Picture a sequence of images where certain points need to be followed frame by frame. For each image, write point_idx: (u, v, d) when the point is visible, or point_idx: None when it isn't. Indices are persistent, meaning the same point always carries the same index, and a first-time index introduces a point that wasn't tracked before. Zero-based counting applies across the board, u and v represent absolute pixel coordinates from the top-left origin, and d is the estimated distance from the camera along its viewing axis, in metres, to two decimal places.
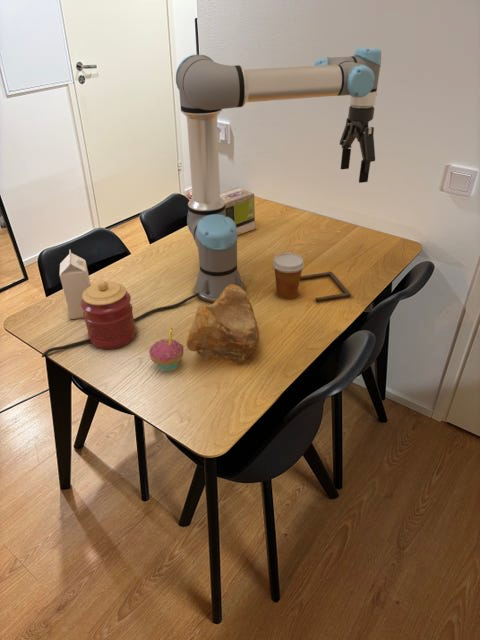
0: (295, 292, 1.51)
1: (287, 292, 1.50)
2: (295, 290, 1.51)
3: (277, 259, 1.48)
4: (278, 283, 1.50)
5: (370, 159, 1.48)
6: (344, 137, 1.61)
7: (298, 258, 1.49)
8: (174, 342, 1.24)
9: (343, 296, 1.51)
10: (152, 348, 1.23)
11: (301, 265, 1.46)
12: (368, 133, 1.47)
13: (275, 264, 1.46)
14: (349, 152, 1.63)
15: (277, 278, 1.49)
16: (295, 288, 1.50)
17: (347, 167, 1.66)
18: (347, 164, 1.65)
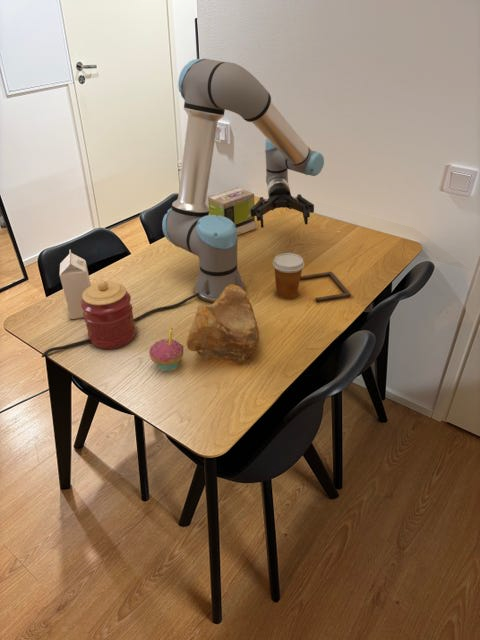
0: (295, 292, 1.51)
1: (287, 292, 1.50)
2: (295, 290, 1.51)
3: (277, 259, 1.48)
4: (278, 283, 1.50)
5: None
6: (257, 207, 1.59)
7: (298, 258, 1.49)
8: (174, 342, 1.24)
9: (343, 296, 1.51)
10: (152, 348, 1.23)
11: (301, 265, 1.46)
12: None
13: (275, 264, 1.46)
14: None
15: (277, 278, 1.49)
16: (295, 288, 1.50)
17: None
18: None
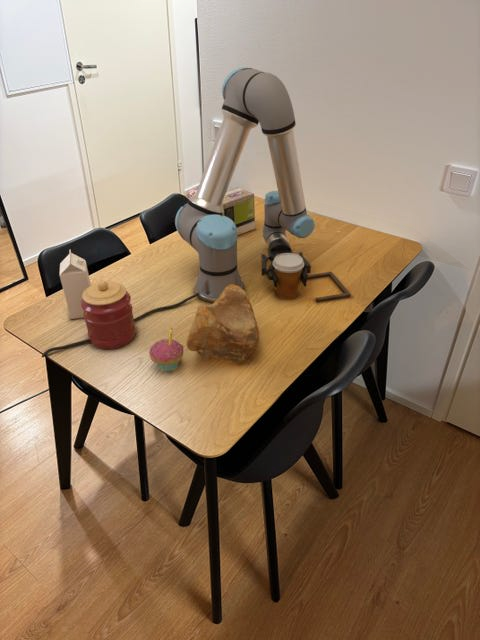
0: (295, 292, 1.51)
1: (287, 292, 1.50)
2: (295, 290, 1.51)
3: (277, 259, 1.48)
4: (278, 283, 1.50)
5: None
6: (265, 265, 1.54)
7: (298, 258, 1.49)
8: (174, 342, 1.24)
9: (343, 296, 1.51)
10: (152, 348, 1.23)
11: (301, 265, 1.46)
12: None
13: (275, 264, 1.46)
14: None
15: (277, 278, 1.49)
16: (295, 288, 1.50)
17: (276, 285, 1.47)
18: None
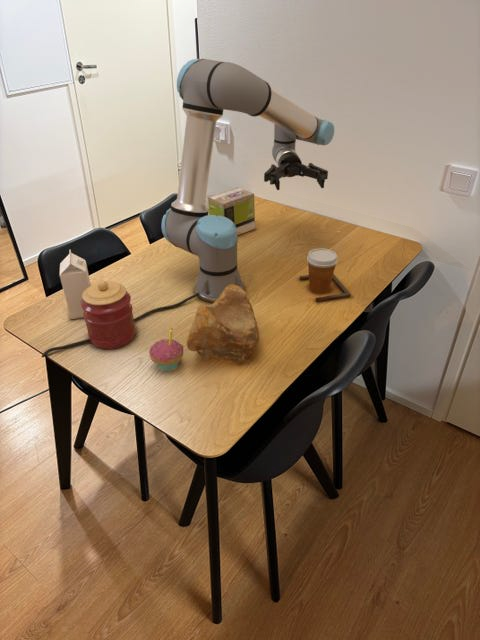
0: (328, 287, 1.54)
1: (320, 286, 1.52)
2: (328, 285, 1.53)
3: (311, 254, 1.51)
4: (312, 278, 1.52)
5: None
6: (270, 172, 1.56)
7: (332, 253, 1.51)
8: (174, 342, 1.24)
9: (343, 296, 1.51)
10: (152, 348, 1.23)
11: (335, 260, 1.48)
12: None
13: (309, 259, 1.49)
14: None
15: (311, 273, 1.51)
16: (328, 283, 1.52)
17: None
18: None
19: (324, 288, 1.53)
